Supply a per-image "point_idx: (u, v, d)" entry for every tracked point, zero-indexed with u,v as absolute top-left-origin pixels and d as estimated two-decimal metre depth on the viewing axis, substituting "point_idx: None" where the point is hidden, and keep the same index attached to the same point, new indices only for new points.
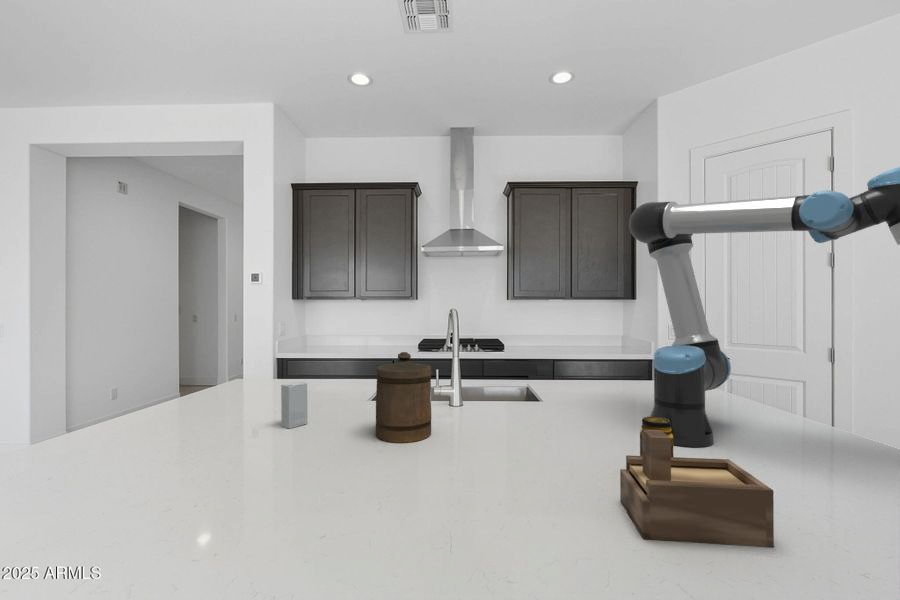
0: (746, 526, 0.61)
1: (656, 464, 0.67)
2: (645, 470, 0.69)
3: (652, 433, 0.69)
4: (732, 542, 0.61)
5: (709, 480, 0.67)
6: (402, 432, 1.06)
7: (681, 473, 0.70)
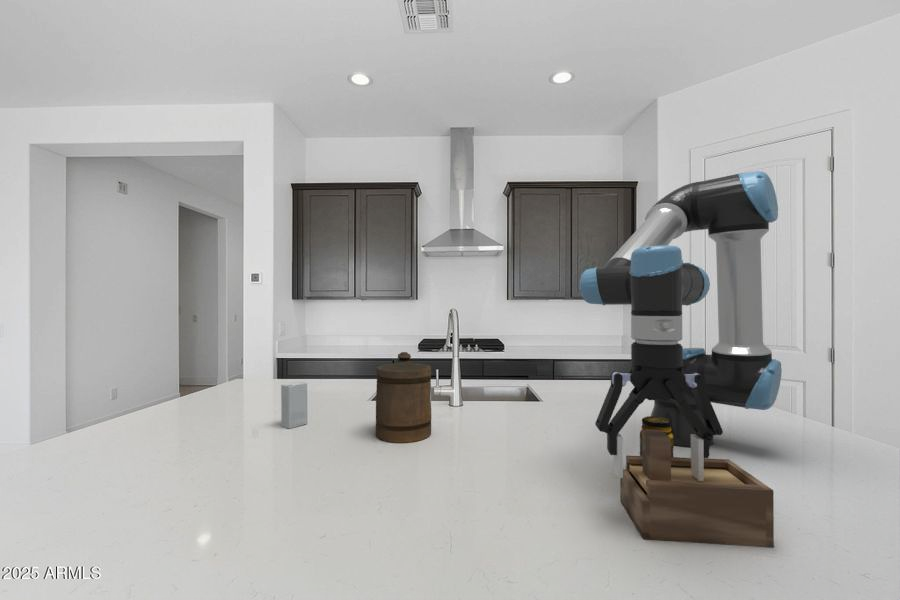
0: (746, 526, 0.61)
1: (656, 464, 0.67)
2: (645, 470, 0.69)
3: (652, 433, 0.69)
4: (732, 542, 0.61)
5: (709, 480, 0.67)
6: (402, 432, 1.06)
7: (681, 473, 0.70)
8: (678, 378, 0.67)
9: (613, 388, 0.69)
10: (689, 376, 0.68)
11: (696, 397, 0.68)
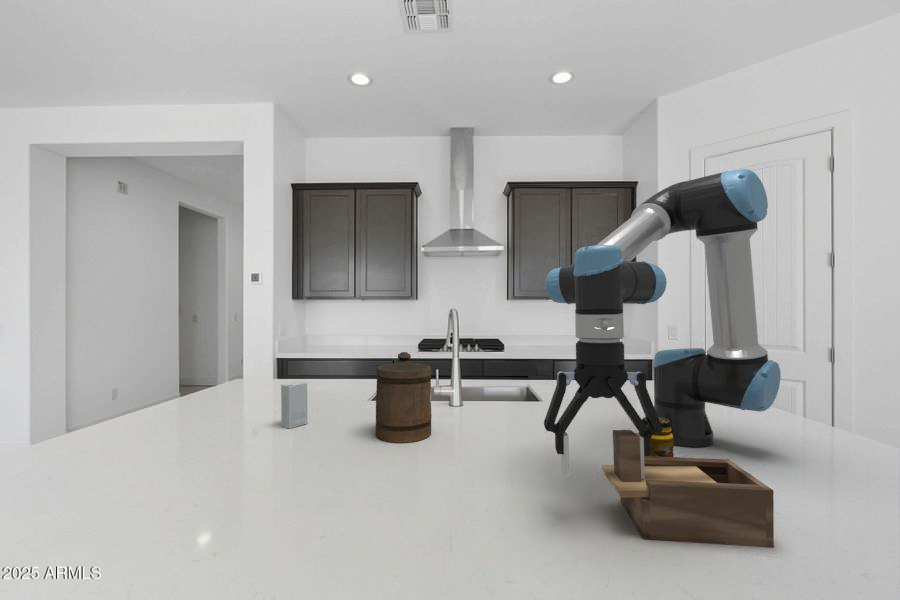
0: (746, 526, 0.61)
1: (626, 464, 0.67)
2: (616, 471, 0.69)
3: (622, 433, 0.69)
4: (732, 542, 0.61)
5: (679, 477, 0.68)
6: (402, 432, 1.06)
7: (651, 471, 0.70)
8: (620, 376, 0.68)
9: (558, 387, 0.69)
10: (631, 374, 0.68)
11: (638, 395, 0.69)
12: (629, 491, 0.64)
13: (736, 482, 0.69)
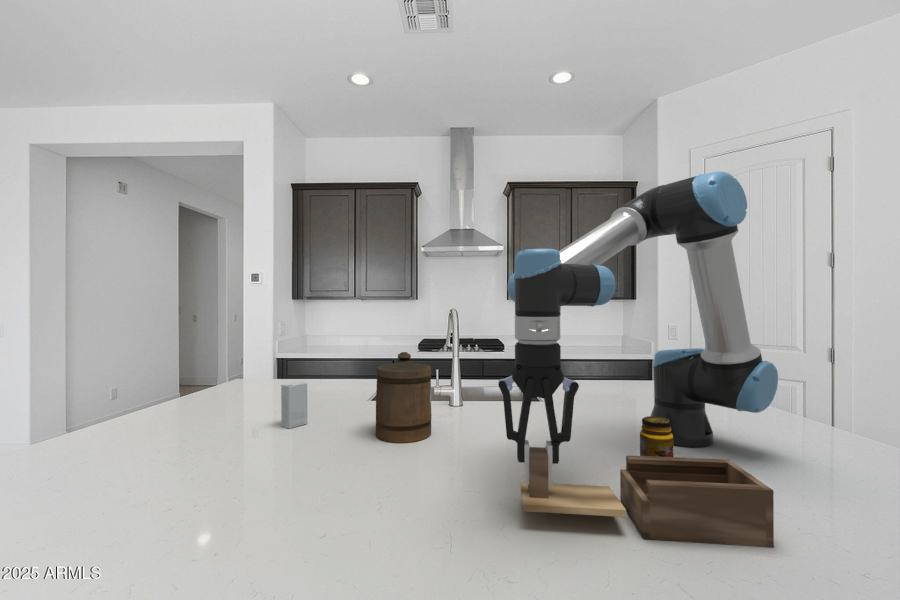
0: (746, 526, 0.61)
1: (534, 480, 0.69)
2: (528, 487, 0.71)
3: (534, 450, 0.71)
4: (732, 542, 0.61)
5: (587, 496, 0.69)
6: (402, 432, 1.06)
7: (564, 490, 0.72)
8: (556, 376, 0.69)
9: (503, 396, 0.71)
10: (567, 380, 0.70)
11: (564, 401, 0.71)
12: (532, 505, 0.66)
13: (736, 482, 0.69)
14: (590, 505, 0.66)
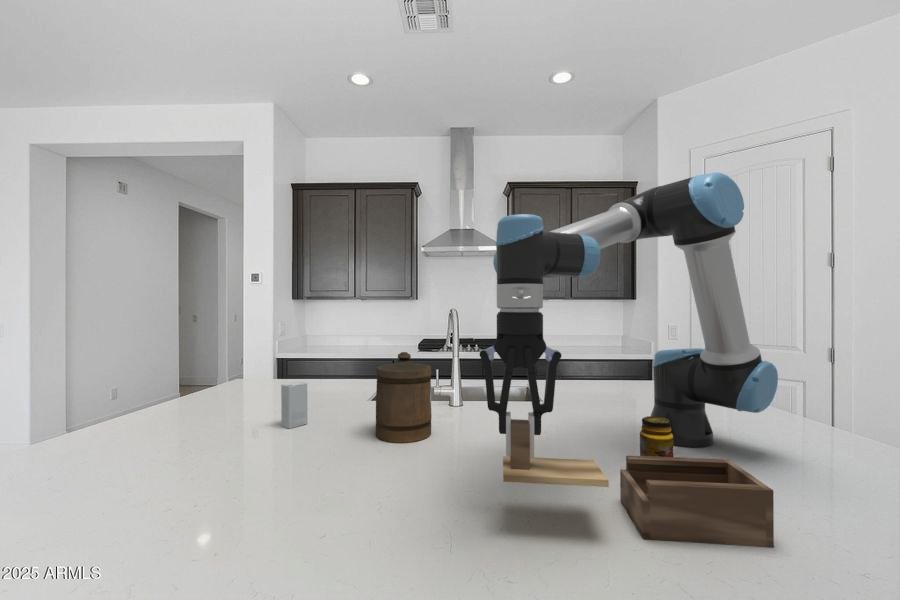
0: (746, 526, 0.61)
1: (516, 451, 0.67)
2: (510, 459, 0.70)
3: (516, 421, 0.70)
4: (732, 542, 0.61)
5: (569, 468, 0.67)
6: (402, 432, 1.06)
7: (547, 463, 0.70)
8: (538, 346, 0.68)
9: (484, 366, 0.69)
10: (549, 349, 0.68)
11: (547, 372, 0.69)
12: (512, 476, 0.64)
13: (736, 482, 0.69)
14: (572, 476, 0.64)
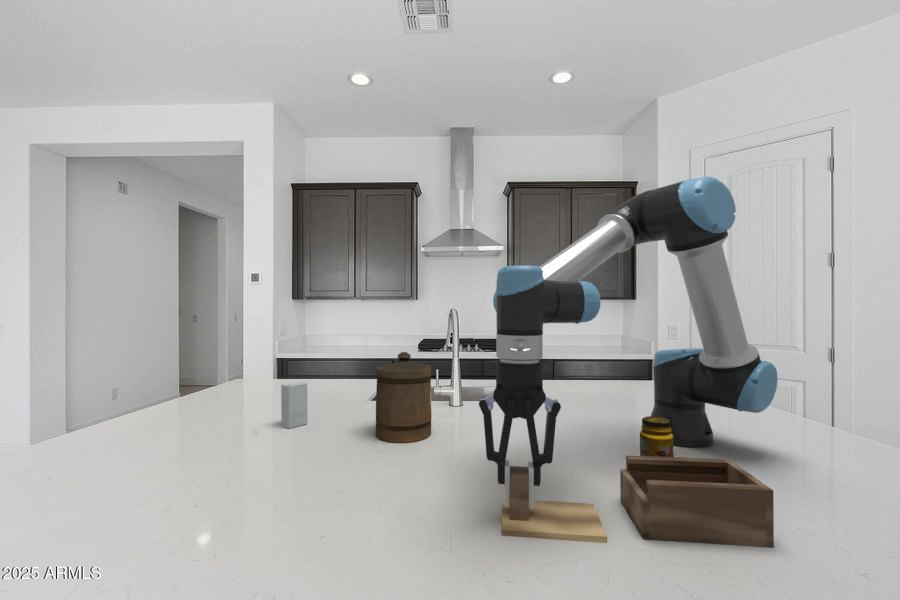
0: (746, 526, 0.61)
1: (515, 502, 0.67)
2: None
3: (515, 470, 0.69)
4: (732, 542, 0.61)
5: (568, 518, 0.67)
6: (402, 432, 1.06)
7: (546, 509, 0.70)
8: (538, 396, 0.68)
9: None
10: (549, 400, 0.68)
11: (546, 422, 0.69)
12: (511, 531, 0.64)
13: (736, 482, 0.69)
14: (571, 530, 0.64)
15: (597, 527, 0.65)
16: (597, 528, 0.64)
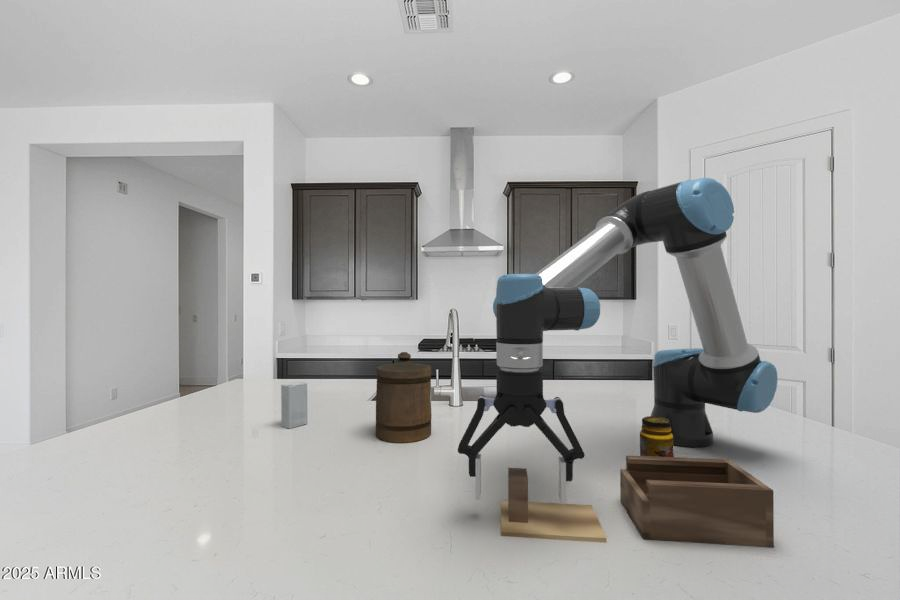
0: (746, 526, 0.61)
1: (514, 504, 0.67)
2: (508, 509, 0.70)
3: (514, 472, 0.69)
4: (732, 542, 0.61)
5: (567, 520, 0.67)
6: (402, 432, 1.06)
7: (545, 511, 0.70)
8: (538, 405, 0.68)
9: (476, 412, 0.69)
10: (550, 402, 0.68)
11: None
12: (510, 533, 0.64)
13: (736, 482, 0.69)
14: (570, 532, 0.64)
15: (596, 528, 0.65)
16: (596, 529, 0.64)
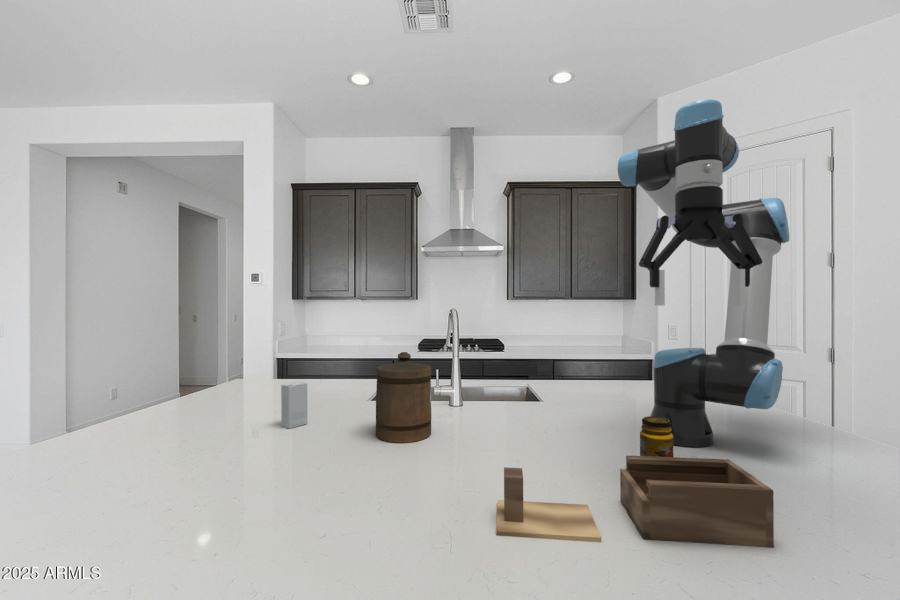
0: (746, 526, 0.61)
1: (509, 504, 0.67)
2: None
3: (509, 472, 0.69)
4: (732, 542, 0.61)
5: (563, 519, 0.67)
6: (402, 432, 1.06)
7: (541, 510, 0.70)
8: (718, 219, 0.76)
9: (659, 229, 0.77)
10: (728, 217, 0.76)
11: (735, 236, 0.77)
12: (505, 532, 0.64)
13: (736, 482, 0.69)
14: (565, 531, 0.64)
15: (591, 528, 0.65)
16: (591, 529, 0.65)
